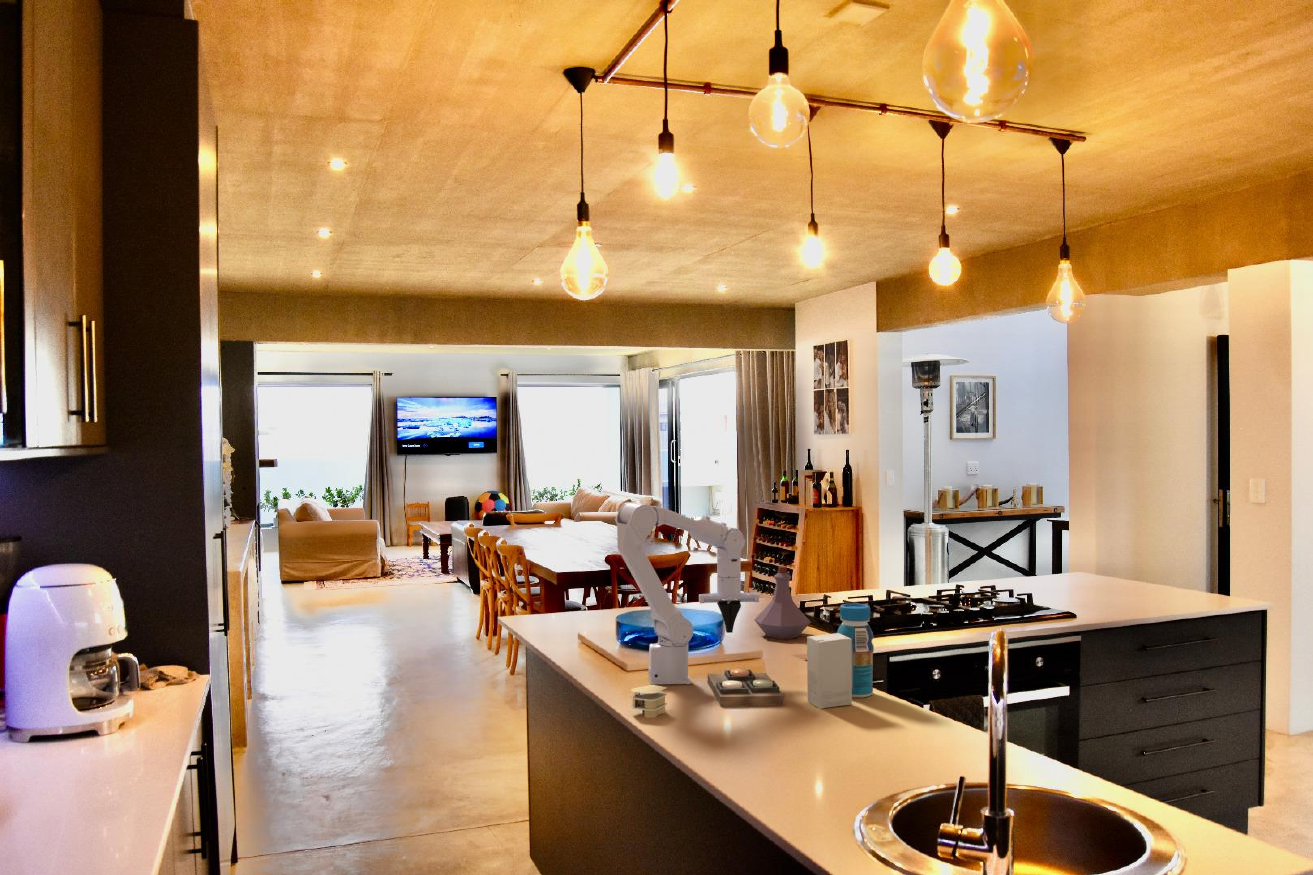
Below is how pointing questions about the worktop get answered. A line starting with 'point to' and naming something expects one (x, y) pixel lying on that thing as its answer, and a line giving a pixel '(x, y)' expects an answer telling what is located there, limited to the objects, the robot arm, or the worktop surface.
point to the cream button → (731, 684)
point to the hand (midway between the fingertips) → (729, 631)
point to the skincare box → (829, 670)
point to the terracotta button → (739, 672)
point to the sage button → (762, 683)
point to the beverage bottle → (859, 646)
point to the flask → (782, 611)
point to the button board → (745, 690)
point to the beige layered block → (649, 700)
